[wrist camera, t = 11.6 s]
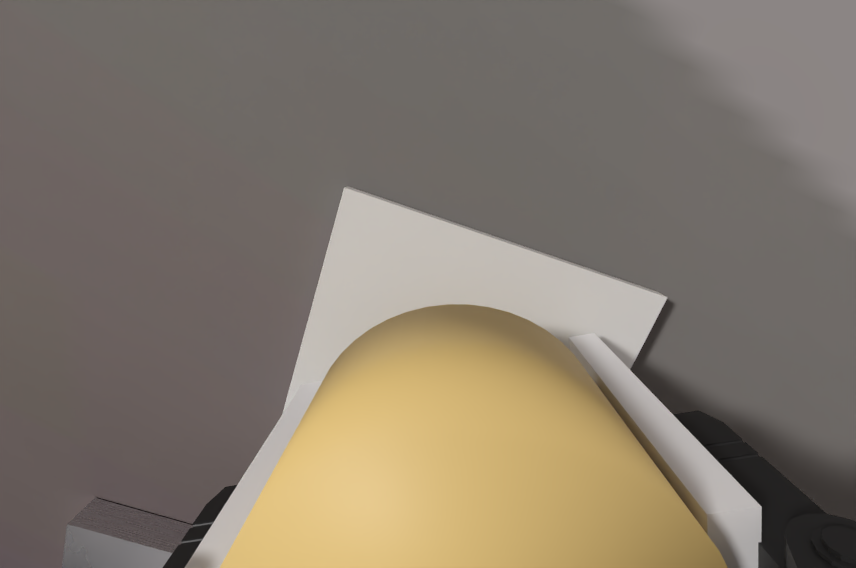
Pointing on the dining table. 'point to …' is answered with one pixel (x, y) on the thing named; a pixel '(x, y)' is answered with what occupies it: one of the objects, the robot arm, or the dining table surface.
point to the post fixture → (120, 537)
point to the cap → (465, 461)
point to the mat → (455, 284)
